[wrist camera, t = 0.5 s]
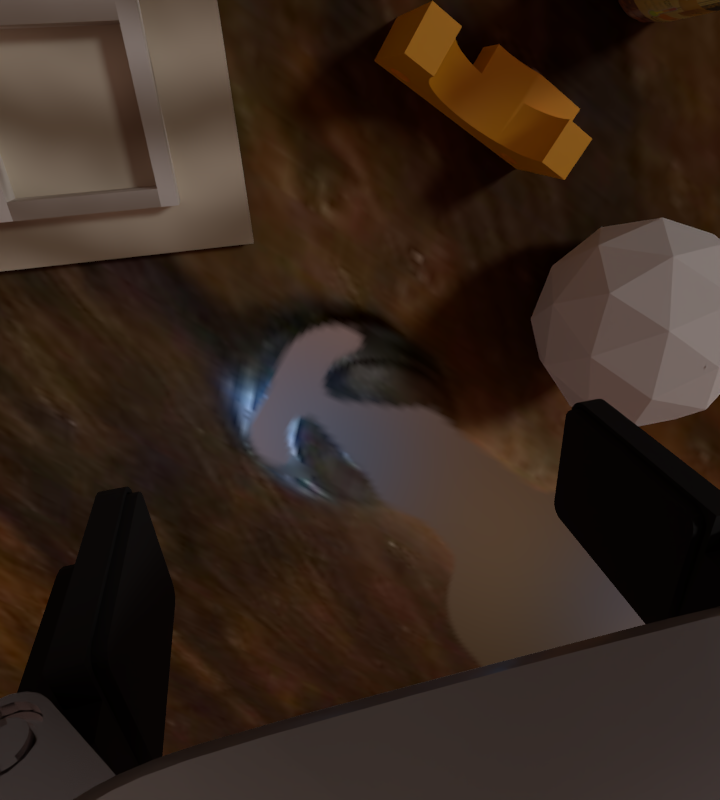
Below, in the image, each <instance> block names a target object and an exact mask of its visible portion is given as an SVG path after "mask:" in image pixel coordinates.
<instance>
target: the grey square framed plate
mask: <svg viewBox="0 0 720 800" xmlns="http://www.w3.org/2000/svg"><path fill="white" fill-rule="evenodd" d="M253 243H254V240H253V234H252V227H251V220H250V214H249V207H248V201H247V194H246V187H245V181H244V174H243V168H242V161H241V155H240V148H239V141H238V135H237V128H236V122H235V115H234V108H233V102H232V95H231V89H230V82H229V76H228V69H227V62H226V56H225V49H224V43H223V36H222V30H221V23H220V16H219V10H218V3H217V0H0V272H1V271H10V270H19V269H28V268H37V267H46V266H55V265H64V264H73V263H82V262H91V261H100V260H109V259H118V258H127V257H136V256H145V255H154V254H163V253H172V252H181V251H190V250H199V249H208V248H217V247H226V246H235V245H244V244H253Z"/></svg>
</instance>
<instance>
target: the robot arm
mask: <svg viewBox="0 0 720 800" xmlns="http://www.w3.org/2000/svg"><path fill="white" fill-rule="evenodd" d="M554 502H555V503H554V505H555V510H556V513H557V515H558V517H559V518H560V520H561V521H562V522H563V523H564V524H565V526H566V527H567V528H568V529H569V531H570V532H571V533H572V534H573V535H574V537H575V538H576V539H577V540H578V541H579V543H580V544H581V545H582V547H583V548H584V549H585V550H586V551H587V553H588V554H589V555H590V556H591V557H592V559H593V560H594V561H595V563H596V564H597V565H598V566H599V567H600V568H601V570H602V571H603V572H604V573H605V575H606V576H607V577H608V578H609V580H610V581H611V582H612V583H613V584H614V586H615V587H616V588H617V590H618V591H619V592H620V593H621V594H622V596H623V597H624V598H625V599H626V600H627V602H628V603H629V604H630V605H631V607H632V608H633V609H634V610H635V612H636V613H637V614H638V615H639V616H640V618H641V619H642V620H643V621H644V623H645V625H642V626H638V627H634V628H630V629H626V630H622V631H618V632H614V633H610V634H607V635H603V636H599V637H595V638H591V639H587V640H583V641H580V642H575V643H571V644H567V645H564V646H560V647H556V648H552V649H549V650H544V651H541V652H537V653H533V654H529V655H525V656H521V657H518V658H514V659H510V660H506V661H502V662H498V663H495V664H491V665H487V666H483V667H479V668H476V669H472V670H468V671H464V672H460V673H457V674H453V675H449V676H445V677H441V678H438V679H434V680H430V681H426V682H423V683H419V684H415V685H411V686H408V687H404V688H400V689H396V690H393V691H389V692H385V693H381V694H378V695H374V696H370V697H367V698H363V699H359V700H355V701H352V702H348V703H344V704H341V705H337V706H333V707H329V708H326V709H322V710H318V711H314V712H311V713H307V714H303V715H300V716H296V717H292V718H288V719H285V720H281V721H278V722H274V723H271V724H267V725H264V726H260V727H257V728H253V729H250V730H247V731H243V732H240V733H236V734H233V735H229V736H226V737H222V738H219V739H215V740H212V741H208V742H205V743H201V744H198V745H195V746H192V747H189V748H186V749H183V750H180V751H177V752H174V753H171V754H168V755H165V756H162V752H163V740H164V728H165V716H166V705H167V693H168V681H169V669H170V657H171V645H172V634H173V622H174V610H175V592H174V587H173V583H172V580H171V577H170V574H169V571H168V568H167V565H166V563H165V560H164V557H163V554H162V551H161V548H160V545H159V542H158V539H157V536H156V533H155V530H154V527H153V524H152V521H151V518H150V515H149V512H148V509H147V506H146V504H145V501H144V498H143V495H142V493H141V492H135V493H132V491H131V489H130V488H129V487H123V488H117V489H112V490H107V491H101V492H98V493H97V495H96V497H95V501H94V504H93V507H92V511H91V514H90V517H89V520H88V524H87V527H86V530H85V533H84V537H83V540H82V543H81V546H80V550H79V553H78V556H77V559H76V563H75V564H74V565H69V566H64V567H63V568H61V569H60V570H59V572H58V574H57V576H56V579H55V582H54V585H53V588H52V591H51V594H50V597H49V600H48V603H47V606H46V609H45V612H44V615H43V618H42V621H41V624H40V627H39V630H38V633H37V636H36V639H35V642H34V644H33V647H32V650H31V653H30V656H29V659H28V662H27V665H26V668H25V671H24V674H23V677H22V680H21V683H20V686H19V689H18V692H17V693H15V694H10V695H8V696H5V697H3V698H1V699H0V800H720V490H719V489H718V488H716V487H715V486H714V485H712V484H711V483H710V482H709V481H707V480H706V479H705V478H704V477H702V476H701V475H700V474H698V473H697V472H696V471H695V470H693V469H692V468H691V467H689V466H688V465H687V464H686V463H684V462H683V461H682V460H680V459H679V458H678V457H677V456H675V455H674V454H673V453H671V452H670V451H669V450H668V449H666V448H665V447H664V446H662V445H661V444H660V443H659V442H657V441H656V440H655V439H654V438H652V437H651V436H650V435H648V434H647V433H646V432H645V431H643V430H642V429H641V428H639V427H638V426H637V425H636V424H634V423H633V422H632V421H630V420H629V419H628V418H627V417H625V416H624V415H623V414H621V413H620V412H619V411H618V410H616V409H615V408H614V407H613V406H611V405H610V404H609V403H607V402H606V401H605V400H603V399H594V400H589V401H584V402H578V403H576V404H574V406H573V407H572V410H570V411H568V413H567V414H566V419H565V427H564V434H563V441H562V449H561V456H560V464H559V471H558V479H557V486H556V493H555V501H554Z"/></svg>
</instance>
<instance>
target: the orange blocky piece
mask: <svg viewBox="0 0 720 800" xmlns="http://www.w3.org/2000/svg"><path fill="white" fill-rule="evenodd" d="M461 27H462V26H461V25H460V24H459V23H457V22H456V21H455V20H454V19H453V18H452V17H450V16H449V15H448V14H447V13H446V12H445V11H444V10H442V9H441V8H440V7H439V6H438V5H437V4H435V3H434V2H433V1H431V2H429V3H427V4H424V5H422V6H420V7H418V8H416V9H414V10H412V11H410V12H407V13H405V14H403V15H401V16H399V17H397V18H396V20H395V22H394V24H393V26H392V28H391V30H390V31H389V33H388V35H387V37H386V39H385V41H384V43H383V45H382V47H381V49H380V51H379V53H378V55H377V56H376V58H375V60H374V61H375V62H376V63H377V64H379V65H380V66H381V67H383V68H384V69H385V70H387V71H388V72H389V73H391V74H392V75H393V76H395V77H396V78H397V79H399V80H400V81H401V82H402V83H404V84H405V85H406V86H408V87H409V88H410V89H412V90H413V91H414V92H416V93H417V94H418V95H420V96H421V97H422V98H423V99H425V100H426V101H427V102H429V103H430V104H431V105H433V106H434V107H435V108H437V109H438V110H439V111H441V112H442V113H443V114H444V115H446V116H447V117H448V118H450V119H451V120H452V121H454V122H455V123H456V124H458V125H459V126H460V127H462V128H463V129H464V130H466V131H467V132H468V133H469V134H471V135H472V136H473V137H475V138H476V139H477V140H479V141H480V142H481V143H483V144H484V145H485V146H487V147H488V148H489V149H490V150H492V151H493V152H494V153H496V154H497V155H498V156H500V157H501V158H502V159H504V160H505V161H506V162H508V163H509V164H510V165H512V166H513V167H514V168H515V169H519V170H523V171H528V172H532V173H537V174H541V175H545V176H550V177H554V178H559V179H563V180H565V179H566V177H567V176H568V174H569V173H570V171H571V170H572V168H573V167H574V165H575V164H576V162H577V161H578V159H579V158H580V156H581V155H582V153H583V152H584V150H585V149H586V147H587V146H588V144H589V143H590V141H591V140H592V138H591V137H590V136H588V135H587V134H586V133H585V132H584V131H583V130H581V129H580V128H579V127H578V126H577V125H576V124H575V123H573V122H572V121H573V119H574V117H575V116H576V114H577V113H578V111H579V110H580V109H579V108H578V107H577V106H576V105H575V104H574V103H573V102H572V101H570V100H569V99H568V98H567V97H566V96H565V95H564V94H562V93H561V92H560V91H559V90H558V89H557V88H556V87H555V86H553V85H552V84H551V83H550V82H549V81H548V80H547V79H545V78H544V77H543V76H542V75H541V74H539V73H538V72H536V71H534V70H532V69H531V68H529V67H528V66H526V65H525V64H523V63H522V62H520V61H519V60H518V59H516V58H515V57H514V56H512V55H511V54H510V53H509V52H507V51H506V50H505V49H504V48H503V47H502V46H501V45H499V44H497V45H492V46H487V47H483V49H482V50H481V52H480V54H479V55H478V57H477V59H476V61H475V62H474V64H472V63H471V62H470V61H469V60H468V59H467V58H466V56H465V55H464V54H463V52H462V51H461V50H460V48H459V46H458V44H457V42H456V36H457V34H458V33H459V31H460V29H461Z"/></svg>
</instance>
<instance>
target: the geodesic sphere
mask: <svg viewBox="0 0 720 800" xmlns="http://www.w3.org/2000/svg"><path fill="white" fill-rule="evenodd" d="M531 323H532V328H533V332H534V337H535V341H536V346H537V351H538V355H539V359H540V361H541V362H542V364H543V365H544V367H545V368H546V370H547V371H548V373H549V374H550V376H551V377H552V379H553V380H554V382H555V383H556V385H557V386H558V388H559V389H560V391H561V392H562V394H563V395H564V397H565V398H566V400H567V402H568V403H569V405H570V406H572V407H573V406H574V404H576V403H578V402H584V401H589V400H594V399H603V400H605V401H606V402H607V403H609V404H610V405H611V406H613V407H614V408H615V409H616V410H618V411H619V412H620V413H621V414H623V415H624V416H625V417H627V418H628V419H629V420H630V421H632V422H633V423H634V424H636V425H637V426H642V425H647V424H653V423H658V422H663V421H668V420H673V419H677V418H680V417H683V416H686V415H690V414H693V413H696V412H699V411H702V410H706V409H707V408H708V406H709V405H710V404H711V403H712V402H713V401H714V400H715V399H716V398H717V397H718V396H719V395H720V239H719V238H718V237H716V236H715V235H714V234H711V233H708V232H705V231H702V230H699V229H696V228H693V227H690V226H687V225H684V224H681V223H678V222H675V221H671V220H668V219H665V218H656V219H650V220H644V221H638V222H632V223H626V224H619V225H613V226H607V227H601V228H600V229H598V230H597V231H596V232H594V233H593V234H592V235H591V236H589V237H588V238H587V239H586V240H584V241H583V242H582V243H580V244H579V245H578V246H577V247H575V248H574V249H573V250H572V251H570V252H569V253H568V254H566V255H565V256H564V257H563V258H561V259H560V260H559V261H558V262H556V263H555V264H554V265H553V266H552V267H551V270H550V272H549V275H548V277H547V280H546V282H545V285H544V287H543V290H542V292H541V294H540V297H539V299H538V302H537V304H536V307H535V309H534V312H533V314H532V317H531Z"/></svg>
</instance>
